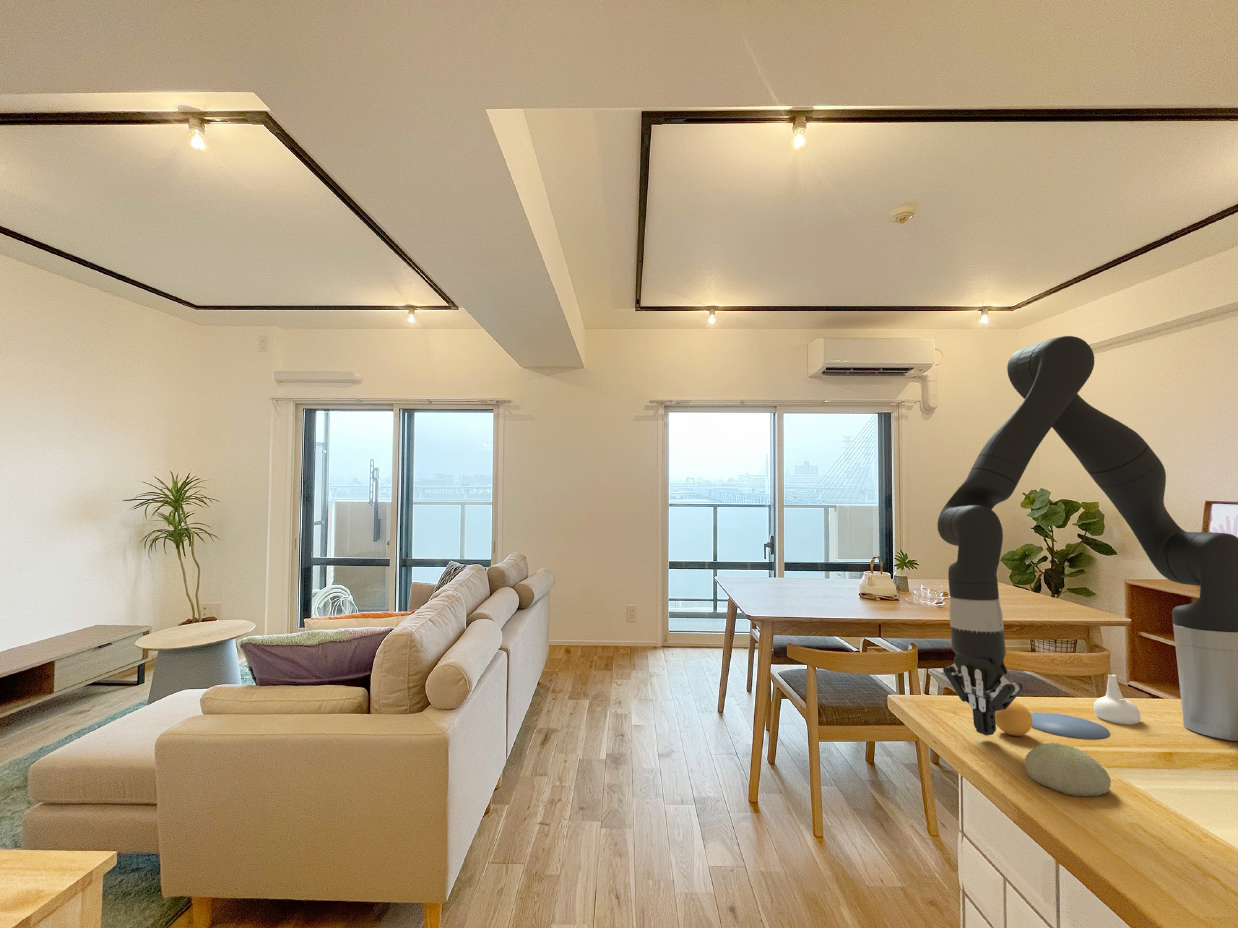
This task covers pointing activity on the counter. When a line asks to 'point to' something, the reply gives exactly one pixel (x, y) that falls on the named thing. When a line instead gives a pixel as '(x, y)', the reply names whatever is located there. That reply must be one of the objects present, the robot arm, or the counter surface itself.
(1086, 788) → the sea urchin shell
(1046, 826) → the counter surface
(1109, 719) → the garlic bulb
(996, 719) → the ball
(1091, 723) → the disc
